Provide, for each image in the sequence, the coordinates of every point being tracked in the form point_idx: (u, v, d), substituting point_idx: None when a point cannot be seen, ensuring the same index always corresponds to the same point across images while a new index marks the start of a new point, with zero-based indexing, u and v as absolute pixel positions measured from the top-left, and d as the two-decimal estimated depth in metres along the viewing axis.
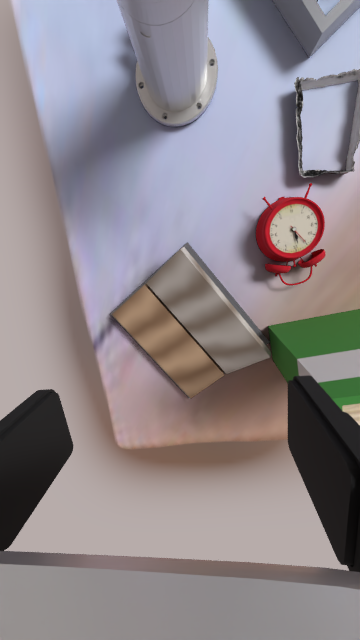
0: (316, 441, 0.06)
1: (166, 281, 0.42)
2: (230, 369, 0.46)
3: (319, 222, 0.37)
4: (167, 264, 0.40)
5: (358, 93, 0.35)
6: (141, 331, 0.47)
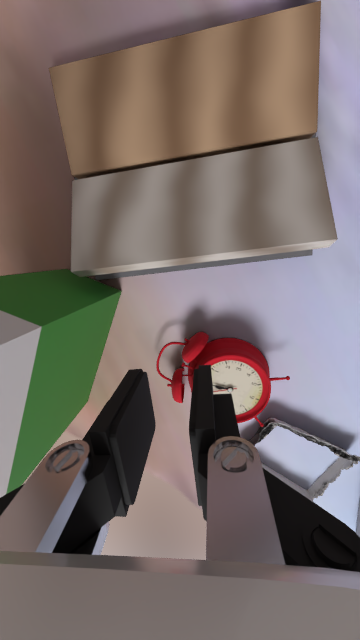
0: None
1: (296, 178, 0.21)
2: (77, 192, 0.24)
3: None
4: (326, 199, 0.20)
5: (297, 486, 0.34)
6: (241, 52, 0.20)
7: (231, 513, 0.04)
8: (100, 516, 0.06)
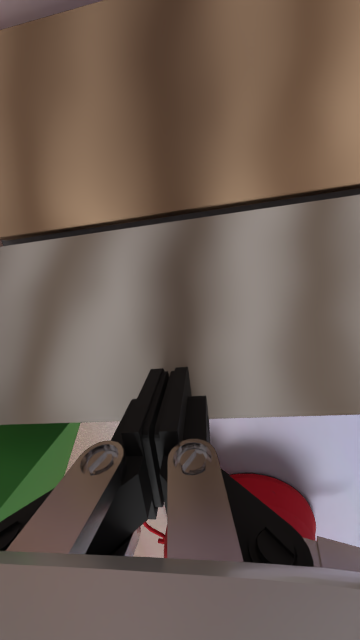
0: None
1: None
2: None
3: None
4: None
5: None
6: (301, 13, 0.10)
7: (191, 516, 0.04)
8: (135, 518, 0.06)
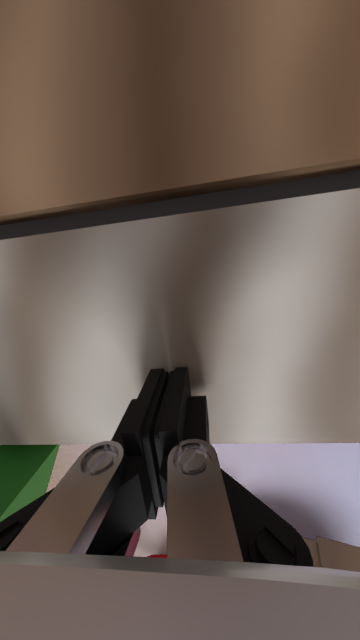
0: None
1: None
2: None
3: None
4: None
5: None
6: None
7: (191, 516, 0.04)
8: (135, 518, 0.06)
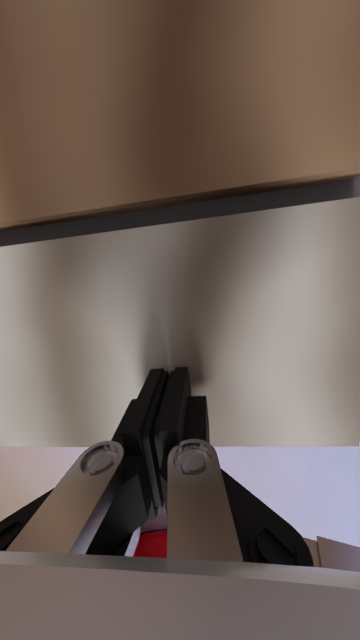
0: None
1: (302, 311, 0.09)
2: None
3: None
4: (357, 367, 0.09)
5: None
6: None
7: (191, 516, 0.04)
8: (135, 518, 0.06)
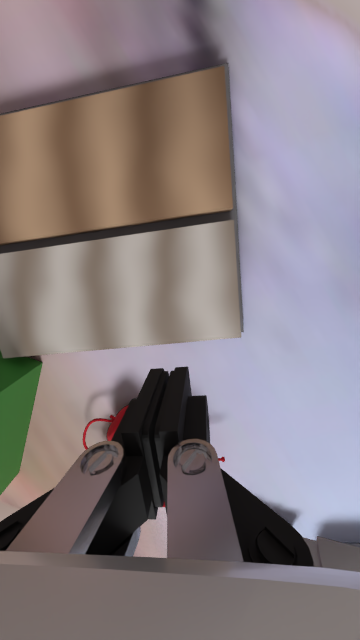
0: None
1: (208, 271, 0.20)
2: None
3: None
4: (235, 297, 0.20)
5: None
6: (140, 121, 0.17)
7: (191, 516, 0.04)
8: (135, 518, 0.06)
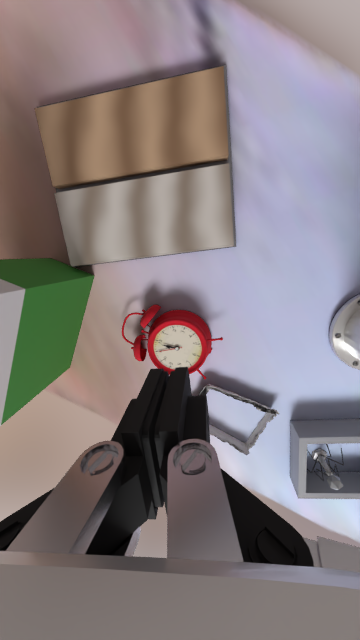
0: None
1: (212, 199, 0.31)
2: (60, 204, 0.33)
3: (169, 369, 0.37)
4: (229, 216, 0.31)
5: (237, 440, 0.43)
6: (171, 100, 0.28)
7: (191, 516, 0.04)
8: (135, 519, 0.06)
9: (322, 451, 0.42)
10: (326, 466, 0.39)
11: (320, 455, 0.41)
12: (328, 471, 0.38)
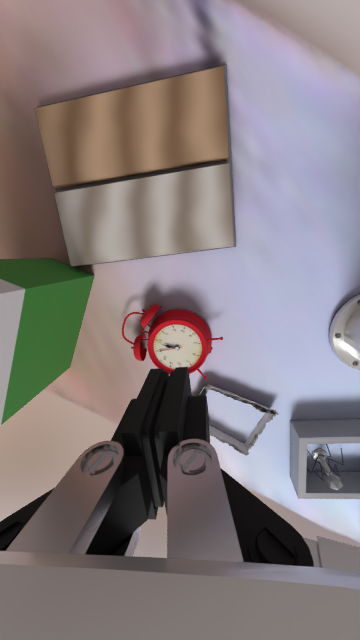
0: None
1: (212, 199, 0.31)
2: (60, 204, 0.33)
3: (169, 369, 0.37)
4: (229, 216, 0.31)
5: (236, 441, 0.43)
6: (171, 100, 0.28)
7: (191, 516, 0.04)
8: (135, 518, 0.06)
9: (322, 451, 0.42)
10: (326, 466, 0.39)
11: (320, 455, 0.41)
12: (328, 471, 0.38)
